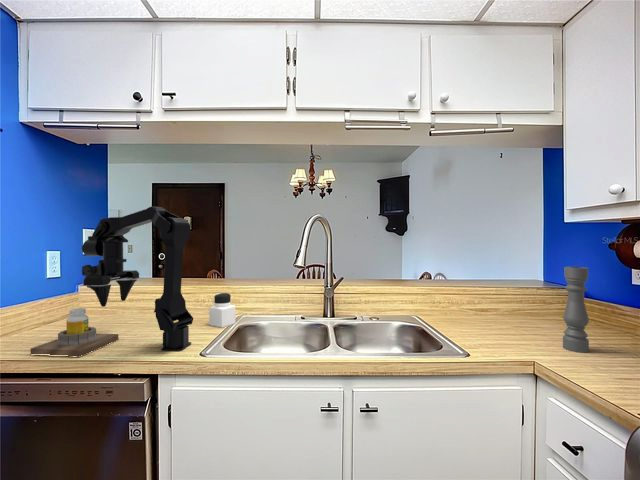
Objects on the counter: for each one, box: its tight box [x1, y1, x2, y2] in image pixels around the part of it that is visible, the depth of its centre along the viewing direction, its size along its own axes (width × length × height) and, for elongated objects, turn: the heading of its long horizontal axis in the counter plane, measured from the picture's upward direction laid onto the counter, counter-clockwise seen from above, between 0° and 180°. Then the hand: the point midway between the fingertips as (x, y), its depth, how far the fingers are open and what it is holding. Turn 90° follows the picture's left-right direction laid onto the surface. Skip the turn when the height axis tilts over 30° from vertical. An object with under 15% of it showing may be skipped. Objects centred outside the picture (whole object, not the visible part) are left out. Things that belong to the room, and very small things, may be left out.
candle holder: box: [562, 266, 590, 354], centre depth 96 cm, size 6×6×25 cm
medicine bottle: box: [208, 292, 236, 329], centre depth 122 cm, size 7×7×12 cm
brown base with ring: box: [30, 326, 119, 356], centre depth 96 cm, size 15×15×5 cm
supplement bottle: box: [66, 307, 89, 335], centre depth 96 cm, size 5×5×10 cm
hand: (113, 303), depth 104 cm, fingers open, 9 cm apart
